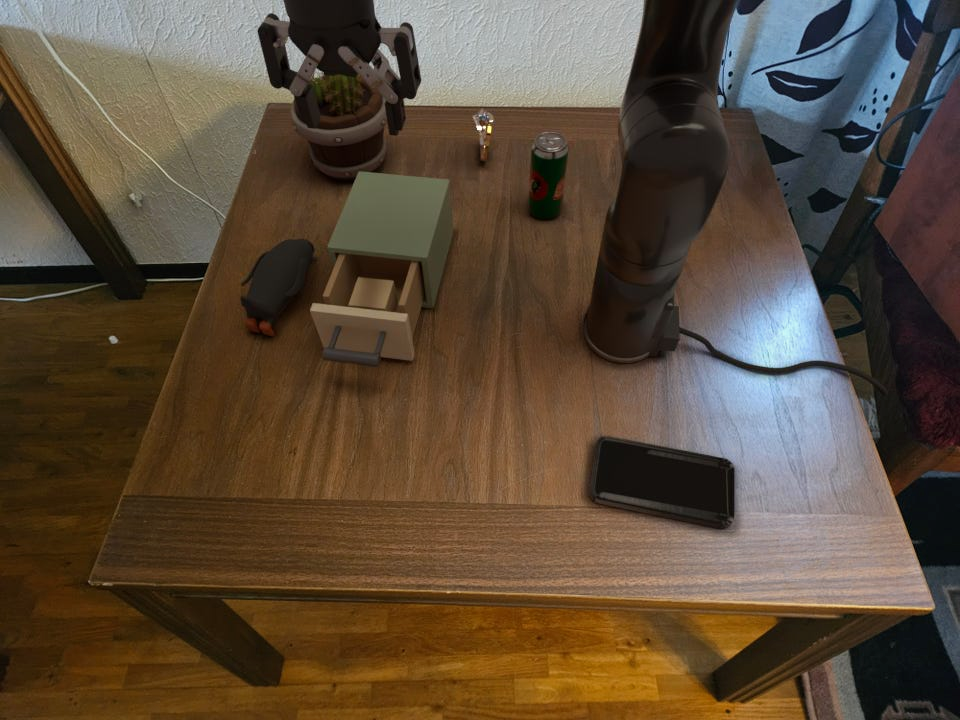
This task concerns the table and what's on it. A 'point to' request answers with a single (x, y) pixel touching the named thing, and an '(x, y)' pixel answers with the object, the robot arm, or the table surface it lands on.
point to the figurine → (275, 282)
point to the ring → (483, 131)
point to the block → (374, 295)
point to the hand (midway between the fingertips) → (355, 127)
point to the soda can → (547, 175)
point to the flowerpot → (345, 126)
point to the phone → (663, 482)
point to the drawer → (369, 312)
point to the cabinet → (398, 223)
